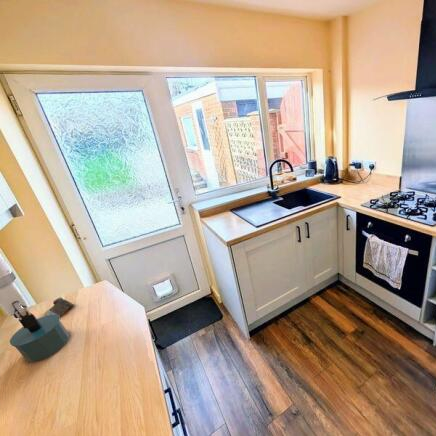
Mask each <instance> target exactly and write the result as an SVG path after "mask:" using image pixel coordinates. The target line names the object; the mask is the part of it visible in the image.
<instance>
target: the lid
mask: <svg viewBox="0 0 436 436" xmlns="http://www.w3.org/2000/svg"><path fill="white" fill-rule="evenodd" d="M32 315H33V316H34V318H35V319H36V321H37V323H35V324H33V325H32V326H30V327H28V328H26V329H25V328H24V327H23V326H22V327H20V328H19V329H18V330H17V331H15V333H14V334H13V335H11V338H10V339H9V344H10V345H11V346H12V347H15V348H16V347H19V346H24V345H28V344H30V343H33V342H35V341H37V340H39V339H41V338H42V337H44V336H46V335H47V334H49V333H50V332H51V331H52V330H54V329H55V328H56V327H57V325H58V324H59V322H60V321H61V316H60V317H59V316H58V315H55V314H52V315H44V316H41V317H38V318H37V317H36V316H35V314H33V313H32Z"/></svg>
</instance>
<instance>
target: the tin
mask: <svg viewBox="0 0 436 436" xmlns="http://www.w3.org/2000/svg"><path fill="white" fill-rule="evenodd" d="M69 339H70V333H69V331H68V330H67V329H66V327H65V326H64V325H63V323H62V321H61V320H60V322H59V324H58V325H57V327H56V328H55V329H54V330H52V331H51V332H50V333H49V334H47V335H46V336H44V337H42V338H41V339H39V340H37V341H35V342H33V343H30V344H28V345H24V346H19V347H15V349H16V350H17V352H19V353H20V355H21V356H22V357H23V358H24V359H25V360H26V362H29V363H35V362H36V363H37V362H39V361H40V362H41V361H42V360H45V359H47V358H49V357H51V356H53V355H54V354H56V353H58V352H59V351H60V350H61V349H62V348H63V347H64V346H65V345H66V344H67V343H68V341H69Z"/></svg>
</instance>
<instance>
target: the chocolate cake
mask: <svg viewBox="0 0 436 436" xmlns="http://www.w3.org/2000/svg"><path fill="white" fill-rule="evenodd" d="M52 304H53V306H51V308H50V309H49V310H47V311H46V312H45V316H47V315H52V314H55V315H58V316H59V317H60V318H61V317H62V316H63V315H64V314H65V313H66V312H67V311H68V309H69V308H73V307H75V304H73V303H72V302H70V301H69V300H67V299H64V298H62V297H60V296H59V297H58V298H56V299H53V301H52Z"/></svg>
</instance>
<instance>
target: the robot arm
mask: <svg viewBox="0 0 436 436" xmlns="http://www.w3.org/2000/svg"><path fill="white" fill-rule="evenodd" d="M17 280H18V277H17V276H16V274H15V273H14V272H13V270H12V269H11V267H10V265H9V264H8V262H7V261H6V259H5V258H4V256H3V255H2V254H1V253H0V308H1V309H2V311H3V312H4V313H5V314H6V315H7V316H8V317H12V316H13V317H14V318H15V319H18V322H19V323H20V324H21V326H22V327H24V328H25V329H26V328H28V327H30V326H32V325H33V324H35V323H37V321H36V319H37V318H36V319H35V318H34V316H35V315H34V314H33V313H32V312H30V311H29V310H28V308H29V305H28V303H27V301H26V299H25V297H24V296H23V294H22V293H21V291H20V290H19V288H18V287H17V285H16V284H15V282H16V281H17ZM32 314H33V315H34V316H33V315H32Z"/></svg>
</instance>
